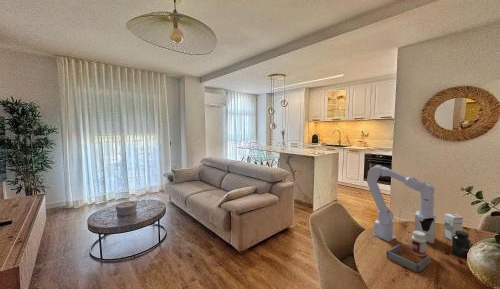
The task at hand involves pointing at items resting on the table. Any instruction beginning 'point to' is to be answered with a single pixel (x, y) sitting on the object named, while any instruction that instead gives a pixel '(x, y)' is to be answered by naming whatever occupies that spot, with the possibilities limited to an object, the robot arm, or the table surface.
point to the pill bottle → (418, 243)
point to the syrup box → (452, 225)
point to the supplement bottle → (461, 244)
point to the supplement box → (428, 235)
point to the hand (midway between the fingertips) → (425, 230)
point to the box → (411, 265)
